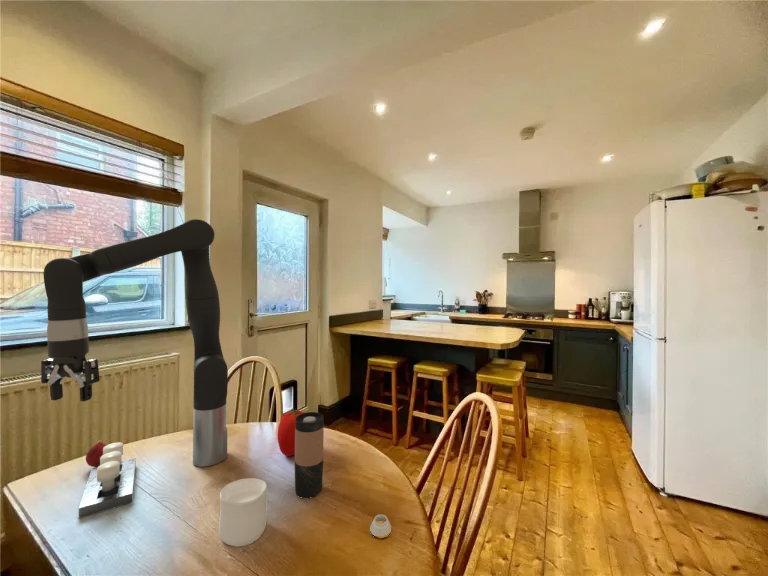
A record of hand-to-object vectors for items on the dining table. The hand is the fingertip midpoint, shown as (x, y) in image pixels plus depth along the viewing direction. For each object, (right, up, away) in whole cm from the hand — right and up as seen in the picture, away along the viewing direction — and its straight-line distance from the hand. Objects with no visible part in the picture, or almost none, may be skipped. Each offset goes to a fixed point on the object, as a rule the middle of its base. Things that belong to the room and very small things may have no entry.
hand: (71, 399), depth 84 cm
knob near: (+10, -22, -1) cm, 25 cm away
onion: (-6, -25, +14) cm, 30 cm away
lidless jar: (+79, -27, -9) cm, 84 cm away
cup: (+48, -27, -10) cm, 56 cm away
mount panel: (+6, -26, +4) cm, 27 cm away
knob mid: (+6, -22, +4) cm, 24 cm away
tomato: (+51, -26, +25) cm, 62 cm away
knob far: (+3, -22, +9) cm, 24 cm away
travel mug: (+60, -27, +5) cm, 66 cm away
